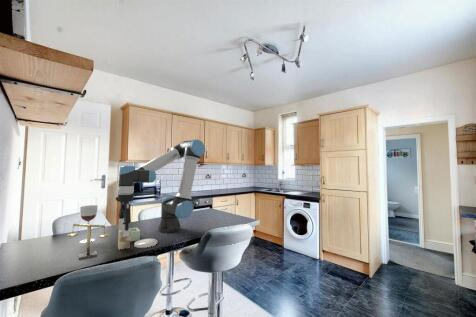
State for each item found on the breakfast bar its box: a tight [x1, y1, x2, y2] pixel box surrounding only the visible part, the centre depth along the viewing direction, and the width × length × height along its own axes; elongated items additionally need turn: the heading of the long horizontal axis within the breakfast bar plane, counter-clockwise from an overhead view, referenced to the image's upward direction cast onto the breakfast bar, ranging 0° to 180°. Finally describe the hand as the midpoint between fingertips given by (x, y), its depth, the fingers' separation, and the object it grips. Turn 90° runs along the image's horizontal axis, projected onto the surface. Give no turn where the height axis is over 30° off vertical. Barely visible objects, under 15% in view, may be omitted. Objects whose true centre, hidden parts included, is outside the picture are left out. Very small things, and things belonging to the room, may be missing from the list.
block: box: [117, 230, 131, 251], centre depth 115 cm, size 5×5×9 cm
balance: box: [66, 223, 110, 260], centre depth 103 cm, size 17×5×16 cm, turn 128°
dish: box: [134, 238, 159, 249], centre depth 120 cm, size 12×12×1 cm
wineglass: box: [79, 204, 99, 244], centre depth 125 cm, size 8×9×20 cm
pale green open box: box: [129, 227, 141, 243], centre depth 128 cm, size 8×8×6 cm
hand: (123, 233), depth 115 cm, fingers open, 13 cm apart
